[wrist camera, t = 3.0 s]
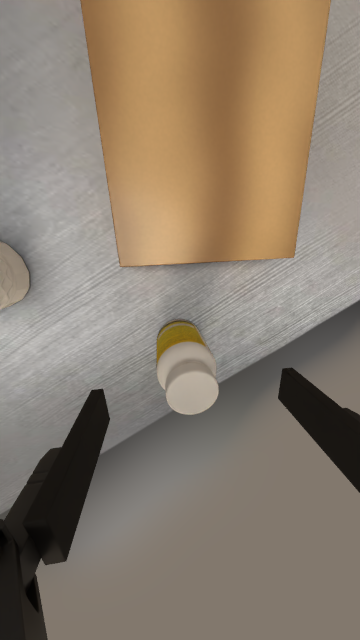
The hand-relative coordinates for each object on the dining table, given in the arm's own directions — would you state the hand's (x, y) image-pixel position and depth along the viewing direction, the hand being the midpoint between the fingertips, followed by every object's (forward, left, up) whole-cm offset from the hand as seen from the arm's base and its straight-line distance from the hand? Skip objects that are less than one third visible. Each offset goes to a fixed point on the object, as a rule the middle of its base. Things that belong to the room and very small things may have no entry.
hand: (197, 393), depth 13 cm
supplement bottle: (0, 0, -10) cm, 10 cm away
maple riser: (+3, +18, -10) cm, 21 cm away
